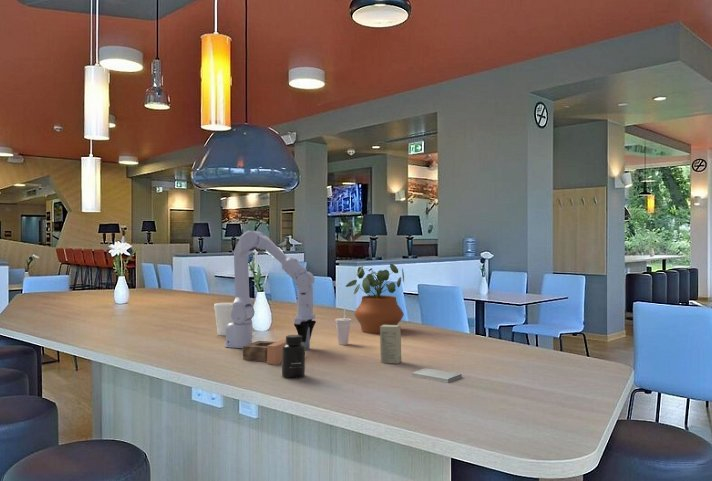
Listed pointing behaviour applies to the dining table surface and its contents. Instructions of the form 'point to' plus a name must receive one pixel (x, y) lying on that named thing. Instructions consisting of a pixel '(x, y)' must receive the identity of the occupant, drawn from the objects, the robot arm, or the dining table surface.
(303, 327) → the robot arm
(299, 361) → the supplement bottle
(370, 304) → the potted plant
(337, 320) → the smoothie
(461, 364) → the dining table surface
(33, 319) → the dining table surface
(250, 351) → the pocket block
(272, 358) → the block
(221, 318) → the foam cup
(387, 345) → the skincare box
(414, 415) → the dining table surface
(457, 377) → the hard drive
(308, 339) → the dowel
